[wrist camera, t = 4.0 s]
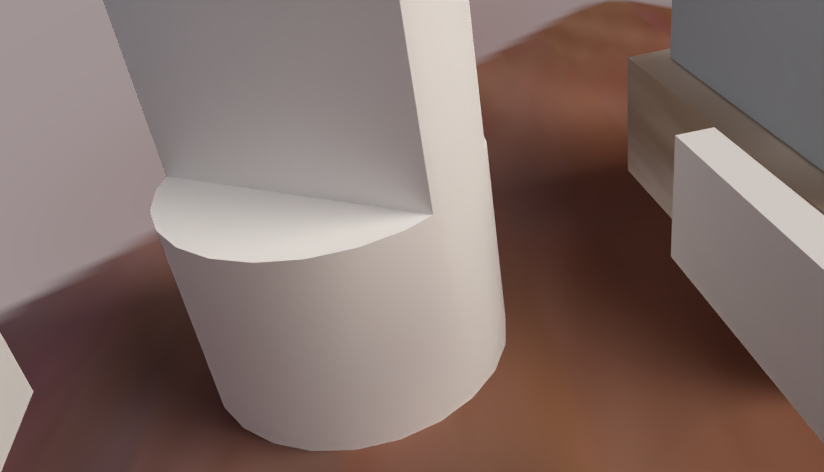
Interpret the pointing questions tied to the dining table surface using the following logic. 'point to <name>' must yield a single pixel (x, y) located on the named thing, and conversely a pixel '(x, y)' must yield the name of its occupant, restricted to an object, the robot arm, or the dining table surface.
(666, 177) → the base block
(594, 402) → the dining table surface
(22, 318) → the dining table surface
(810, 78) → the grey flat square block
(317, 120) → the cylinder with rectangular tab
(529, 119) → the dining table surface
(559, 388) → the dining table surface
